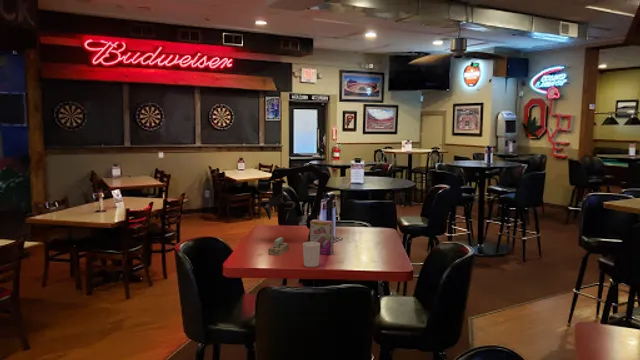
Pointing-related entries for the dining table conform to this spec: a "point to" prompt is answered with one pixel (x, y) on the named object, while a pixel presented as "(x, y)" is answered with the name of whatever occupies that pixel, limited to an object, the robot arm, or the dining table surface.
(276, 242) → the clip
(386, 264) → the dining table surface
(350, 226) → the dining table surface
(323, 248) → the candy bar box
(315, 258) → the white cup
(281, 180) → the robot arm
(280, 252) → the brown block with holes
